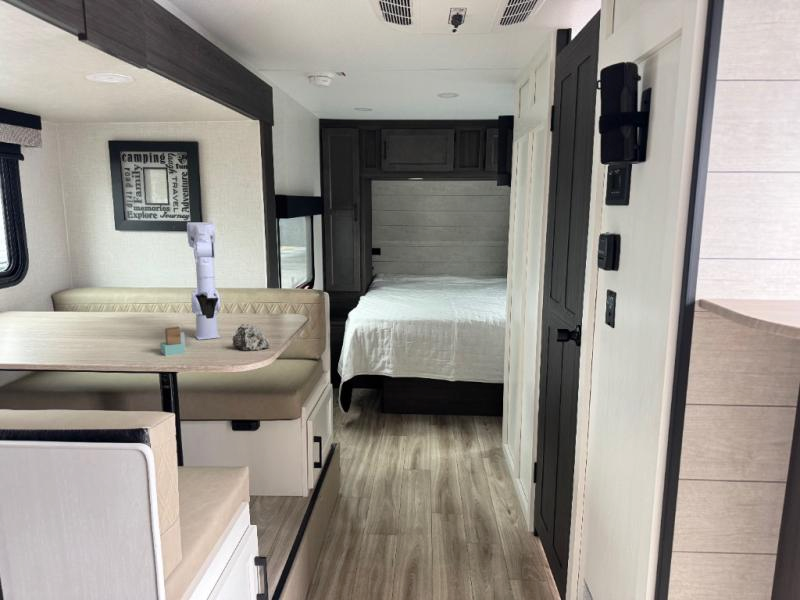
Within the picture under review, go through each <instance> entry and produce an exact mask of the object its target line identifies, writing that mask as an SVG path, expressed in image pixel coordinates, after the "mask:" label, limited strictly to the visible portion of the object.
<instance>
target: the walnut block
mask: <svg viewBox="0 0 800 600" xmlns="http://www.w3.org/2000/svg"><path fill="white" fill-rule="evenodd" d="M164 330H165V331H164V332H165V342H166V343H167V344H168V345H175V344H181V334H180V332H181V328H180V327H179V326H170V327H165V328H164Z"/></svg>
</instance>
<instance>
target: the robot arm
mask: <svg viewBox="0 0 800 600" xmlns="http://www.w3.org/2000/svg"><path fill="white" fill-rule="evenodd" d="M186 232H187V241H188V242H187V243H188V246H189V247H190V248H192V249H193V256H194V260H195V261H194V262H195V271H196V272H195V273H196V287H197V288H195V289H194V290H192V292H191V298H190V299H191V312H192V313H193V314H195V325H196V326H195V328H196V332H195V333H194V334H193V335H194V337H195V338H196V340H199V341H201V340H209V339H219V338H221V335H220V334H219V333H218V316H217V314H218V312H220V311H221V301H220V300H221V297H220V294H219V291H218V290H217V289H216V282H215V281H216V280H215V262H214V261H215V260H214V259H215V257H216V256H215V255H216V253H215V249H216V248H215V242H216V240H215V239H216V227H215V223H214V222H213V221H211V222H203V221H202V222H190V221H188V222H187V223H186Z"/></svg>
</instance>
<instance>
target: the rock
mask: <svg viewBox="0 0 800 600" xmlns="http://www.w3.org/2000/svg"><path fill="white" fill-rule="evenodd" d="M232 345H233V347H234V348H237V349H239V350H241V351H244V350H247V351H249V350H250V352H254V351H258V350H262V349H266V348H270V347H271V345H270V343H269V341H268V338H267V337H266V336H265V335H264V334H263V332H262V330H261V329H260V327H259V326H254V325H250V324H245V323H241V325H239V326H238V327H237V330H236V331H235V335H233V337H232Z"/></svg>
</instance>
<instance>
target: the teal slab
mask: <svg viewBox="0 0 800 600" xmlns="http://www.w3.org/2000/svg"><path fill="white" fill-rule="evenodd" d="M185 348H186V345H185V346H184V343H182V342H181V344H175V345H168V344H167V343H166V341H164V342H160V353H161V352H162V353H163V354H162V353H161V354H162V355H163V356H165V357H167V356H166V355H171V356H174V355H173V354H178V355H181V354H180V353H185V354H186V349H185Z"/></svg>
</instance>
